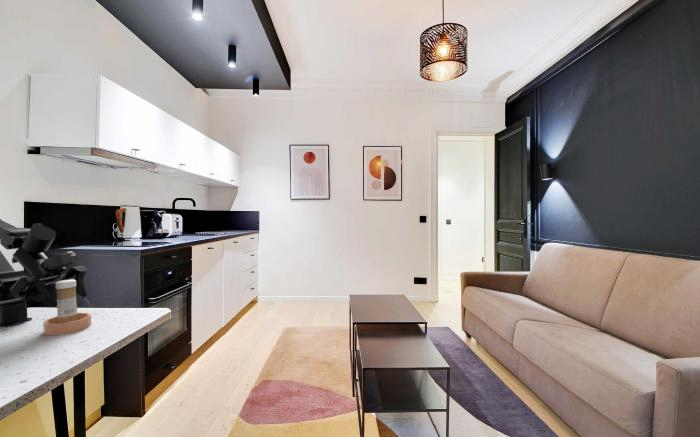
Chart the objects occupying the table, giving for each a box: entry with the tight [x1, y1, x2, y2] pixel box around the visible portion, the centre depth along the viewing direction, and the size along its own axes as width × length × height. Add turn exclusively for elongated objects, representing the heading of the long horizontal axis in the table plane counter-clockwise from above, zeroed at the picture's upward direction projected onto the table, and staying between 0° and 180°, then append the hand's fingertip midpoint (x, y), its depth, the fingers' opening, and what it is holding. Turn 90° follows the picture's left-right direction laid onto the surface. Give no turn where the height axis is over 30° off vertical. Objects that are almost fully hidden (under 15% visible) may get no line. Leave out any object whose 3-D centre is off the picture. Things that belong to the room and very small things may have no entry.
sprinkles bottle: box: [55, 280, 78, 324], centre depth 96 cm, size 5×5×13 cm
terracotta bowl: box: [43, 312, 92, 336], centre depth 96 cm, size 10×10×3 cm
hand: (71, 300), depth 96 cm, fingers open, 9 cm apart
